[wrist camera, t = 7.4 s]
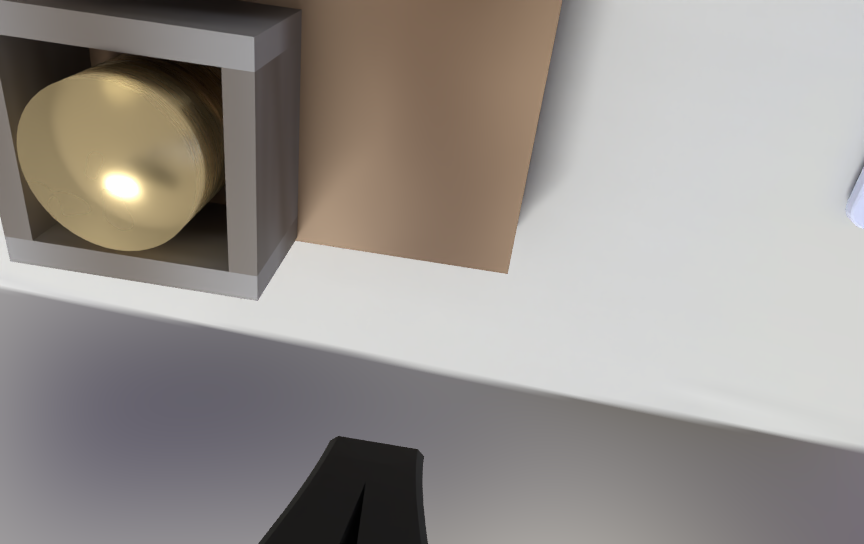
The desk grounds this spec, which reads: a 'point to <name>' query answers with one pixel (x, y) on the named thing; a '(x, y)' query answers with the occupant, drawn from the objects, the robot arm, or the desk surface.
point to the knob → (126, 149)
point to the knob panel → (305, 128)
